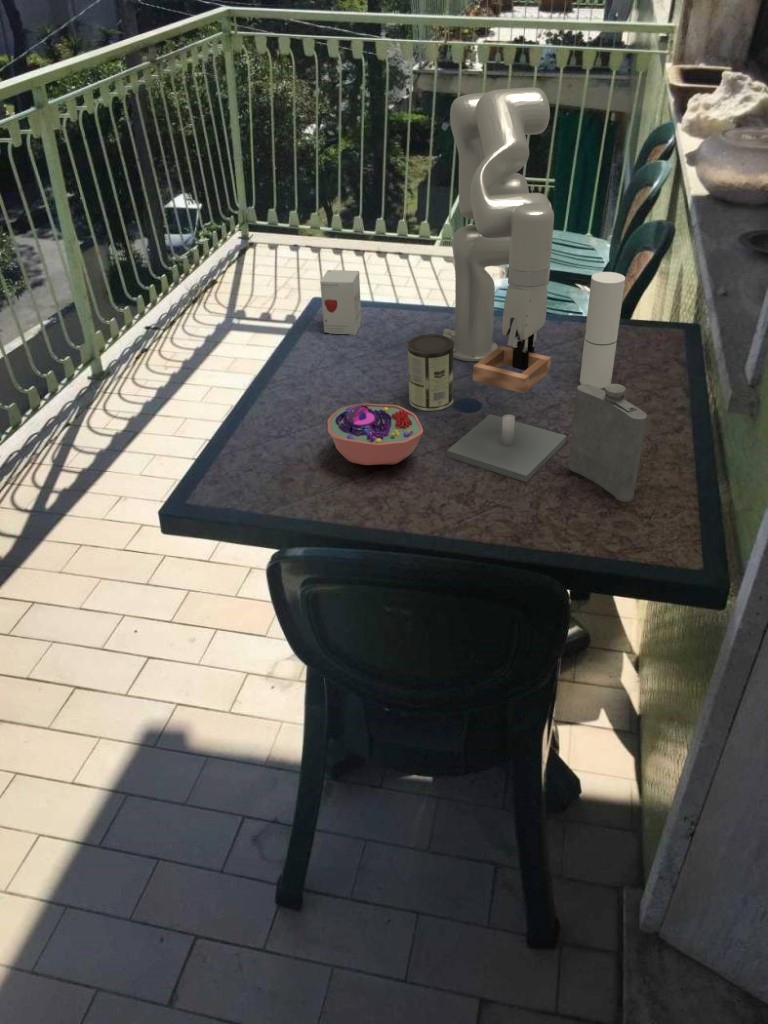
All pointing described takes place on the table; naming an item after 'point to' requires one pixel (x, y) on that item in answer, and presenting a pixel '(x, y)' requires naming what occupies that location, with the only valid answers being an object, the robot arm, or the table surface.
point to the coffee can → (430, 372)
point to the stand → (507, 447)
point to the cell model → (374, 433)
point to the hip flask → (607, 439)
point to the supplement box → (341, 301)
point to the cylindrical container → (602, 328)
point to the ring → (495, 376)
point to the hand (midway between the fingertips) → (522, 365)
